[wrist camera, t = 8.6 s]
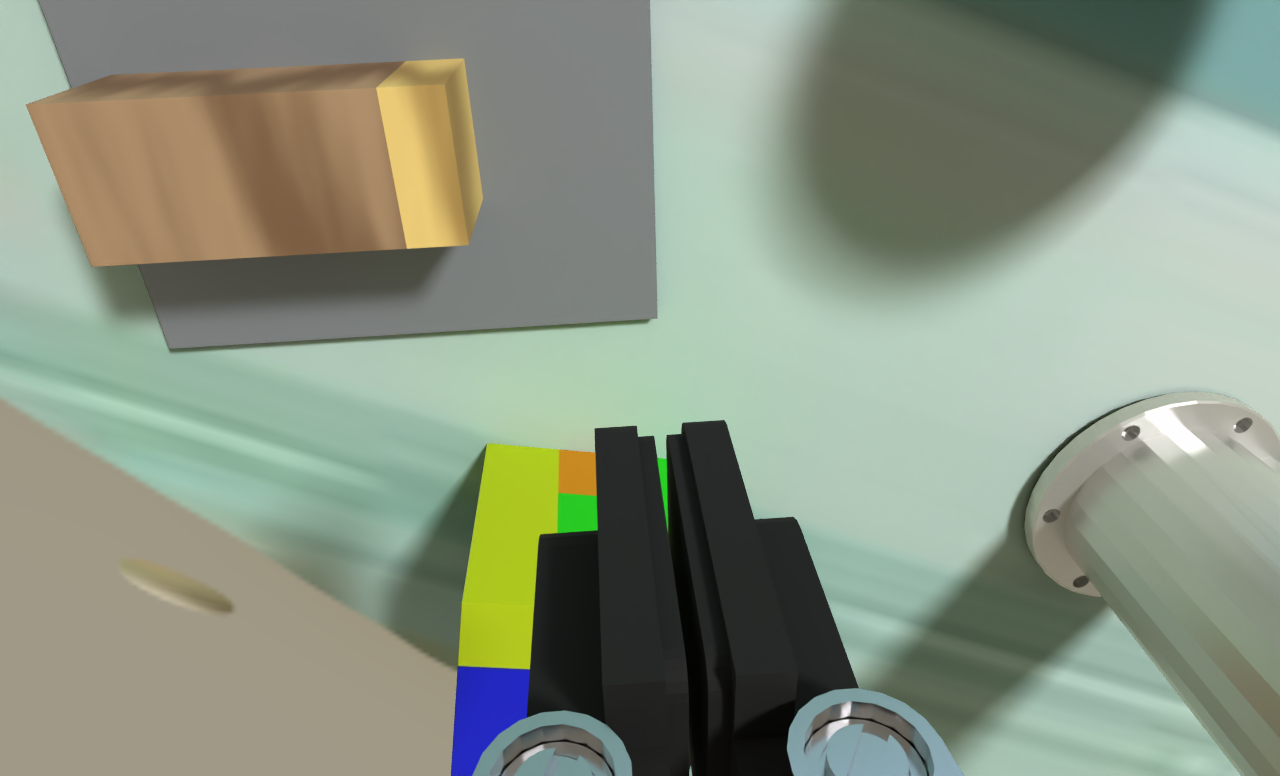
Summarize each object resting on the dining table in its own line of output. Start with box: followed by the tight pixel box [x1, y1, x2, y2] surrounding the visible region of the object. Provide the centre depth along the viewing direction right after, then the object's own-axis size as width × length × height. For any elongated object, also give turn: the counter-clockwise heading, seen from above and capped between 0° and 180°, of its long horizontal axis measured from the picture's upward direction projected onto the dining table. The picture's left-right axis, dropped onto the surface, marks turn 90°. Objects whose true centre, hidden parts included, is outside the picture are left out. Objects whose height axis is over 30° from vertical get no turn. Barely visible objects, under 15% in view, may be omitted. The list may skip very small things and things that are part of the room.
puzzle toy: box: [451, 443, 691, 776], centre depth 36 cm, size 10×10×10 cm
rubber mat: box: [39, 0, 657, 349], centre depth 29 cm, size 20×16×1 cm
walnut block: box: [26, 58, 483, 267], centre depth 27 cm, size 5×5×12 cm
